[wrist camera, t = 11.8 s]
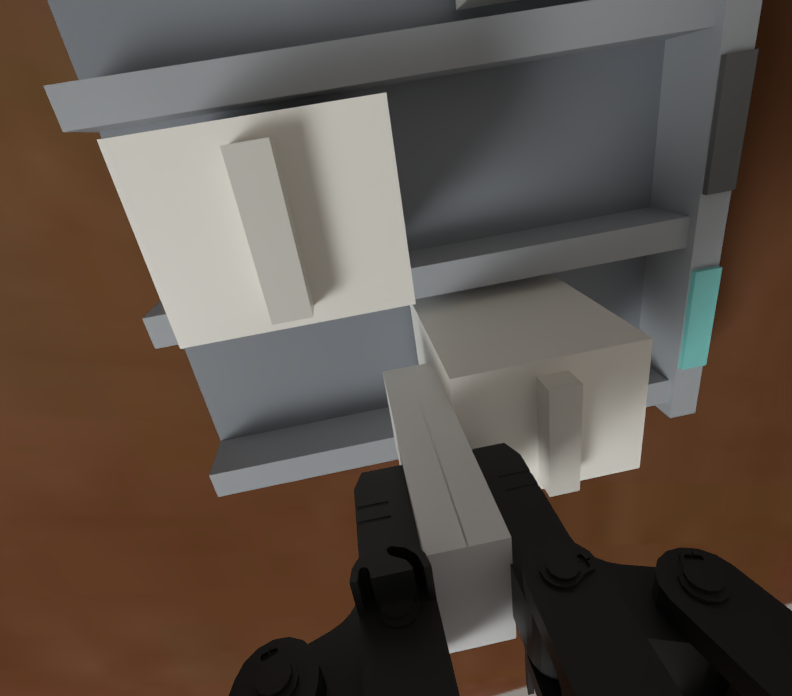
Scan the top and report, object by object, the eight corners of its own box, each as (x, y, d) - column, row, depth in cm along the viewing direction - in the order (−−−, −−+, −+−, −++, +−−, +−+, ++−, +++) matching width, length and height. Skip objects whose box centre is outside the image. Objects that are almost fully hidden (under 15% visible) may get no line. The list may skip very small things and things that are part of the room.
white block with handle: (408, 296, 16) (457, 394, 10) (546, 270, 16) (673, 351, 10) (422, 393, 18) (471, 525, 12) (546, 368, 18) (655, 484, 12)
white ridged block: (190, 137, 13) (76, 139, 7) (362, 108, 13) (391, 88, 7) (233, 270, 15) (169, 364, 9) (384, 243, 15) (421, 315, 9)
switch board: (-15, -215, 11) (-165, -367, 8) (702, -300, 12) (846, -467, 9) (237, 452, 20) (219, 517, 16) (639, 370, 21) (699, 415, 17)
